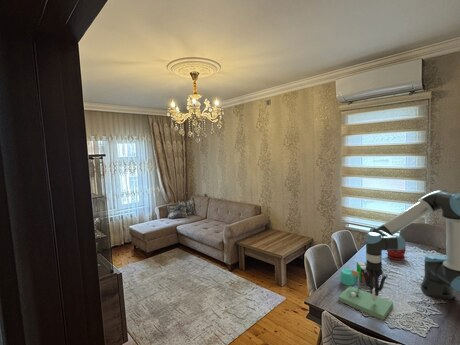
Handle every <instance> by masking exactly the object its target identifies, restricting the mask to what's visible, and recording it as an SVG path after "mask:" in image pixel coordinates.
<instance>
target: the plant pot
mask: <svg viewBox="0 0 460 345" xmlns="http://www.w3.org/2000/svg"><path fill="white" fill-rule="evenodd" d="M386 253H387V254H386V255H387V257H388V258H389V259H391V260H395V261H402V260H404V259H405V254H406V248H405V249H403V250H386Z"/></svg>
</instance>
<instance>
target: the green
mask: <svg viewBox="0 0 460 345" xmlns="http://www.w3.org/2000/svg"><path fill="white" fill-rule="evenodd" d="M351 270H352V269H351ZM352 274H353V275H356V277H357V287H354V286H348V287H347V288H346V289H345V290H343V291H342V292H341V293H340V294H339V295H338V296H337V300H338V301H339V302H342V303H344V304H346V305H348V306H350V307H353V308H355V309H358V310H359V311H362V312H364V313H367V314H368V315H370V316H372V317H375V318H377V319H380V320H382V321H384V320H385V318H386V317H387V316H388V314H389V313H390V311H391V310H392V308H393V307H394V302H393V301H390V300H389V299H385V298H383V297H380V296H379V295H378V296H377V300H376V301H372V294H371V293H370V292H367V291H365V290H362V289H360V279H359V272H357V270H352ZM351 292H354V293H355V294H356V297H352V296H350V294H351Z"/></svg>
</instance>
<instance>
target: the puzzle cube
mask: <svg viewBox="0 0 460 345" xmlns="http://www.w3.org/2000/svg"><path fill="white" fill-rule="evenodd" d="M363 268H366V261H364V262H362V261H360V262H359V261H356V272H359V282H361V283H364V284H366V282H365V278H364V274H363V272H362V271H361V270H362V269H363ZM367 274H368V277H369V273H368V272H367ZM369 281H370V277H369ZM374 284H375V279H374Z"/></svg>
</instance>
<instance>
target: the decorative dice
mask: <svg viewBox="0 0 460 345" xmlns="http://www.w3.org/2000/svg"><path fill="white" fill-rule="evenodd" d="M339 278H340V280H339V281H340V282H341V283H342V284H343V285H345V286H348V287H349V286H352V287H354V285H355V284H356V280H357V276H356V275H353V274H352V269H349V268H342V270H341V272H340V276H339Z"/></svg>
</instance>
